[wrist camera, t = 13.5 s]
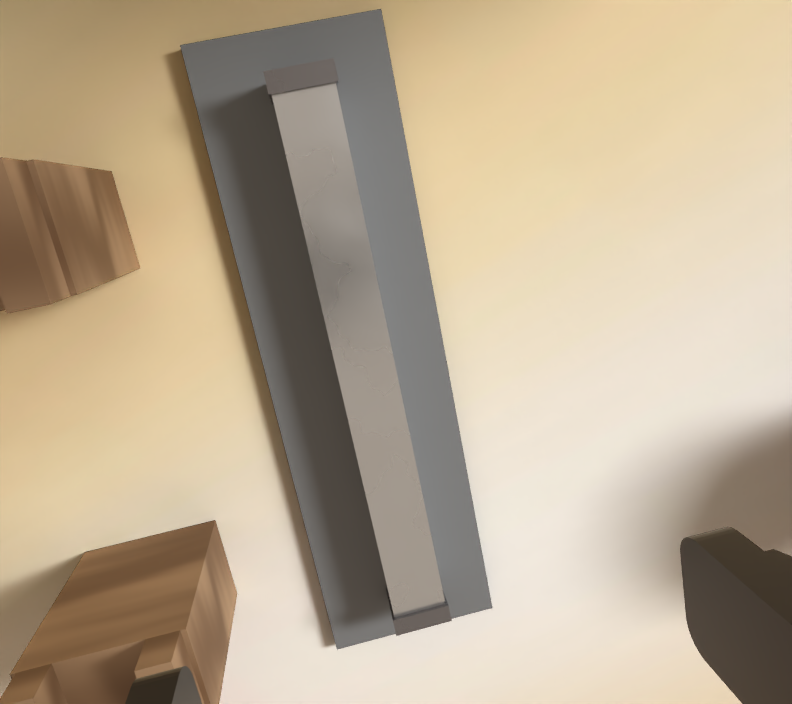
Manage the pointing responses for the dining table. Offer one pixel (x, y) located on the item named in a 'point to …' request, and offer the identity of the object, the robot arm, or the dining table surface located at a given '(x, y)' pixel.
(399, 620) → the rail
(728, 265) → the dining table surface
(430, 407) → the mat
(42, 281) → the post
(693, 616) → the robot arm
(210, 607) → the post
